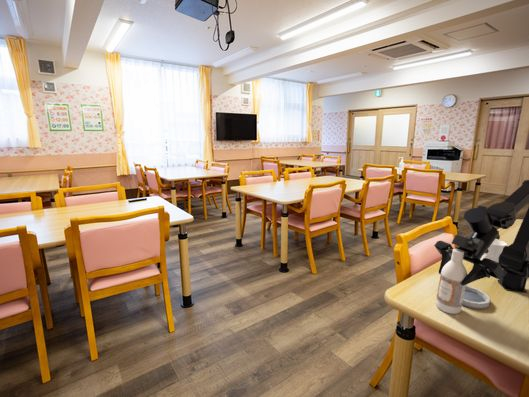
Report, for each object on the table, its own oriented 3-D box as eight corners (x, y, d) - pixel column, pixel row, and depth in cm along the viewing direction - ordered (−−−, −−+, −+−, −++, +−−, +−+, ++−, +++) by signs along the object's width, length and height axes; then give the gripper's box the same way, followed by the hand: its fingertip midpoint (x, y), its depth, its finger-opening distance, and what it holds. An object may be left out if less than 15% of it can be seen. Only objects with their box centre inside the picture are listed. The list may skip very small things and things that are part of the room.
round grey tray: (480, 292, 101) (481, 287, 101) (496, 312, 90) (497, 306, 90) (442, 286, 105) (443, 281, 104) (452, 305, 94) (453, 300, 93)
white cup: (503, 269, 118) (508, 247, 116) (479, 264, 122) (484, 242, 120) (500, 262, 124) (505, 240, 122) (478, 257, 129) (482, 237, 126)
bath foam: (430, 304, 94) (440, 247, 89) (444, 299, 97) (454, 244, 92) (450, 316, 88) (462, 256, 83) (465, 311, 90) (477, 253, 86)
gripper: (442, 217, 95) (413, 253, 94) (506, 236, 79) (472, 280, 77) (454, 236, 100) (427, 270, 99) (516, 258, 84) (485, 300, 82)
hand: (450, 279), depth 89 cm, fingers closed on bath foam, 7 cm apart
